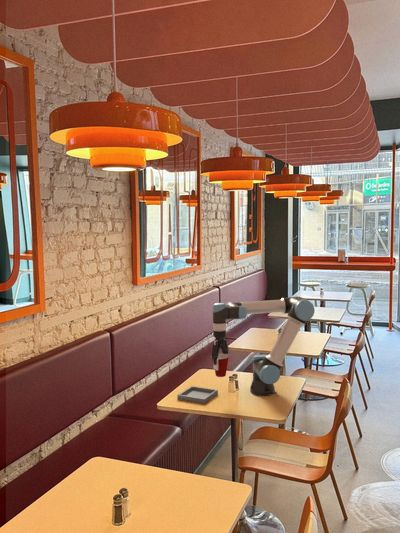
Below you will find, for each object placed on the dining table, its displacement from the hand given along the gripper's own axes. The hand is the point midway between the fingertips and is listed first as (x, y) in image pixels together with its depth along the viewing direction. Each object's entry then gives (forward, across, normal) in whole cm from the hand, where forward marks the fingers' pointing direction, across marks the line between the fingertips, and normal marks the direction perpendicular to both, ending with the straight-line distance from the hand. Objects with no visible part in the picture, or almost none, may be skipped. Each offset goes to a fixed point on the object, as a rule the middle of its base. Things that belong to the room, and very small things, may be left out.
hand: (220, 367), depth 286 cm
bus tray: (+21, -2, -16) cm, 26 cm away
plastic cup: (+5, 0, 0) cm, 5 cm away
